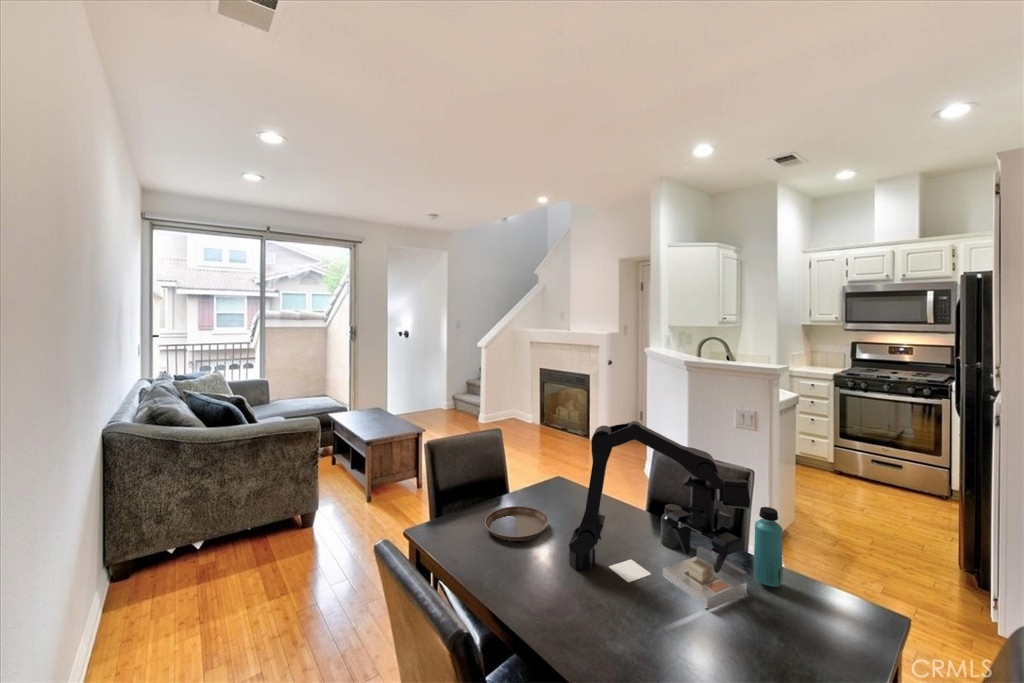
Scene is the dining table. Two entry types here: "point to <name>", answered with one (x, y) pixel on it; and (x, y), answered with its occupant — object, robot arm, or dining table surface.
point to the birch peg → (701, 572)
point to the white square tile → (629, 570)
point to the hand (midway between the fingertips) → (701, 562)
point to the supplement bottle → (669, 530)
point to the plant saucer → (520, 522)
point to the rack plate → (715, 593)
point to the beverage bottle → (768, 548)
